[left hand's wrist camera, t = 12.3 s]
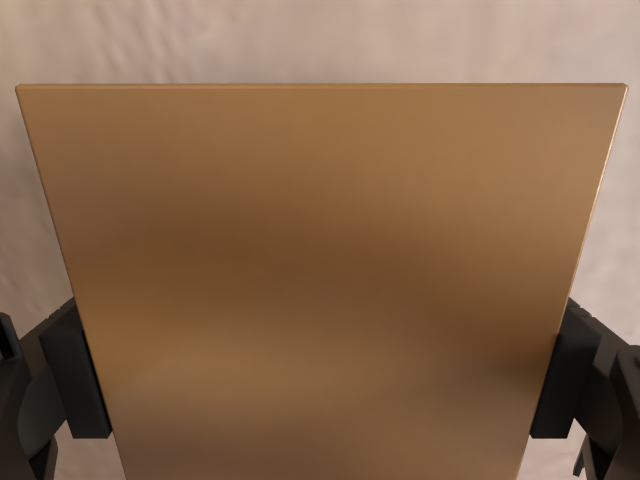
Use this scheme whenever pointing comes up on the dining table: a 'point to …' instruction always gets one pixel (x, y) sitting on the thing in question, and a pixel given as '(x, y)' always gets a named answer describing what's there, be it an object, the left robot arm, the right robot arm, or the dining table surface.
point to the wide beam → (321, 266)
